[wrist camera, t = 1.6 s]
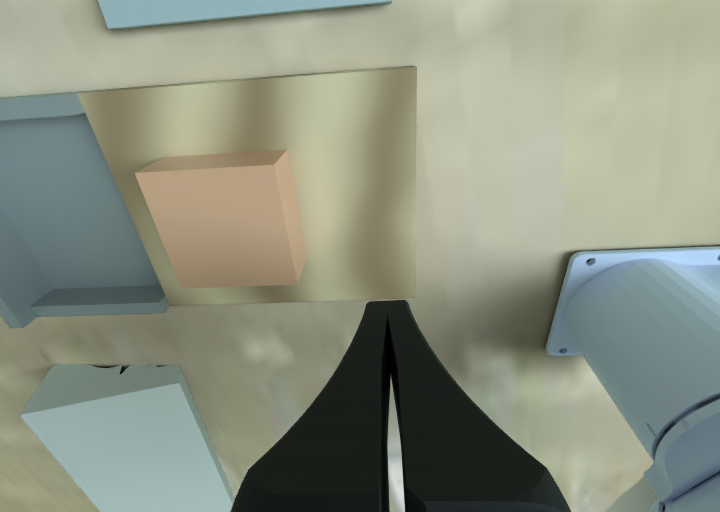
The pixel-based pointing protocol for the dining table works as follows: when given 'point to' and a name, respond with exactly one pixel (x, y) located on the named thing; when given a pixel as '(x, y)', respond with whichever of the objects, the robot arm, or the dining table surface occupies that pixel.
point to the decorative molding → (129, 438)
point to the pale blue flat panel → (208, 10)
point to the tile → (227, 218)
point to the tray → (65, 219)
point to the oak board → (308, 167)
